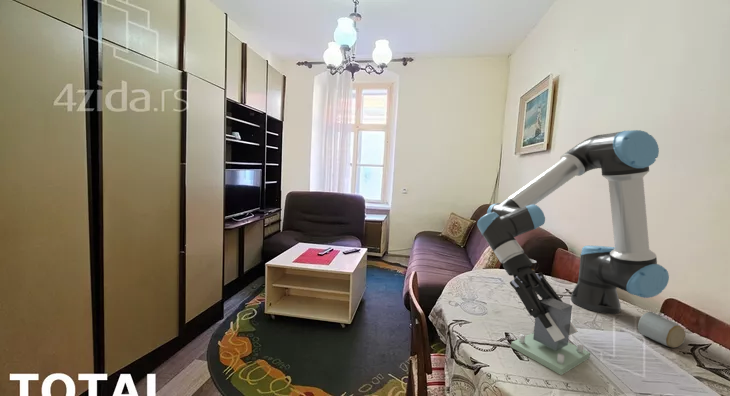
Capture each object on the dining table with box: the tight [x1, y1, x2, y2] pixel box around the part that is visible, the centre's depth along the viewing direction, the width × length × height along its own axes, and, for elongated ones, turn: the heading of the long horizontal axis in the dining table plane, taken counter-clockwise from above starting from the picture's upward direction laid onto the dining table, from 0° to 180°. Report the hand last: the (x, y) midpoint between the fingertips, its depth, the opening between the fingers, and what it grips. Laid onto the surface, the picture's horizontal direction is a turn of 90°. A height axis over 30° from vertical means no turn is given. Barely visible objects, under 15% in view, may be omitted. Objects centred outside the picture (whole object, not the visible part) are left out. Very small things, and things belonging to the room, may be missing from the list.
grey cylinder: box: [637, 311, 686, 349], centre depth 90 cm, size 11×8×8 cm
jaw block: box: [533, 297, 573, 351], centre depth 81 cm, size 6×6×11 cm
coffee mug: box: [529, 258, 540, 273], centre depth 138 cm, size 12×9×10 cm
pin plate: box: [510, 332, 591, 376], centre depth 81 cm, size 15×13×4 cm
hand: (566, 336), depth 78 cm, fingers closed on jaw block, 6 cm apart
